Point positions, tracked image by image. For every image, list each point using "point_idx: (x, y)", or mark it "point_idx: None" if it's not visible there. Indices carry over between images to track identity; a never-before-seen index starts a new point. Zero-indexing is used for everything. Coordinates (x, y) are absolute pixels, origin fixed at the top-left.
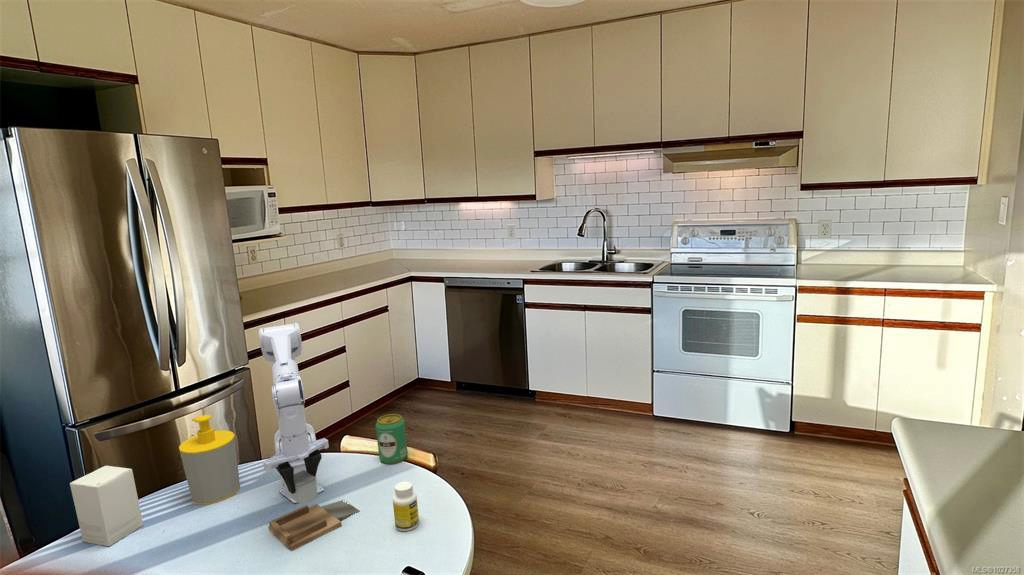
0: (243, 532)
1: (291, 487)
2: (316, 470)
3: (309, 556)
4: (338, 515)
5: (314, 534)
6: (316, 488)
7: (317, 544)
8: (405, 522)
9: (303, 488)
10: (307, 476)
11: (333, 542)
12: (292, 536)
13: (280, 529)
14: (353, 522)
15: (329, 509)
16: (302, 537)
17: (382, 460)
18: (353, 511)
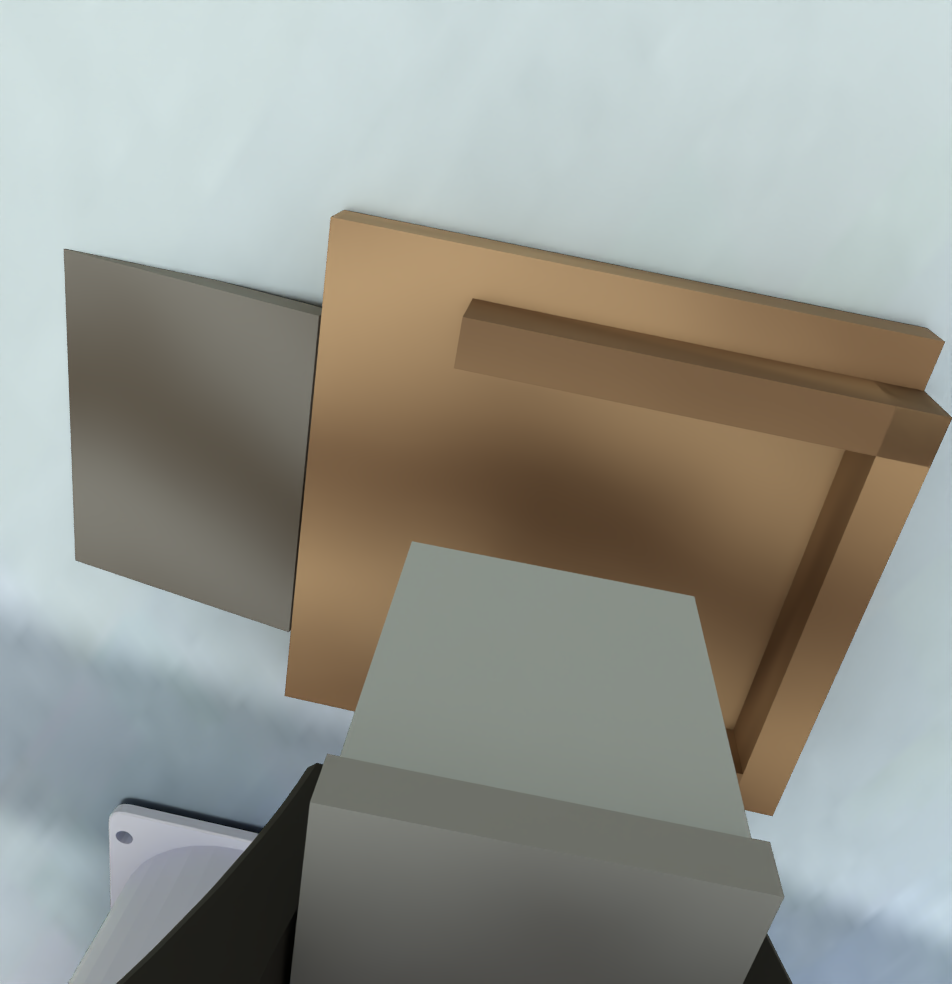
0: (848, 908)
1: (783, 971)
2: (150, 966)
3: (942, 39)
4: (271, 358)
5: (656, 293)
6: (386, 638)
7: (720, 162)
8: None
9: (642, 773)
10: (391, 973)
11: (609, 7)
12: (897, 407)
13: (833, 631)
14: (229, 135)
15: (264, 527)
16: (767, 361)
17: None
18: (118, 300)
